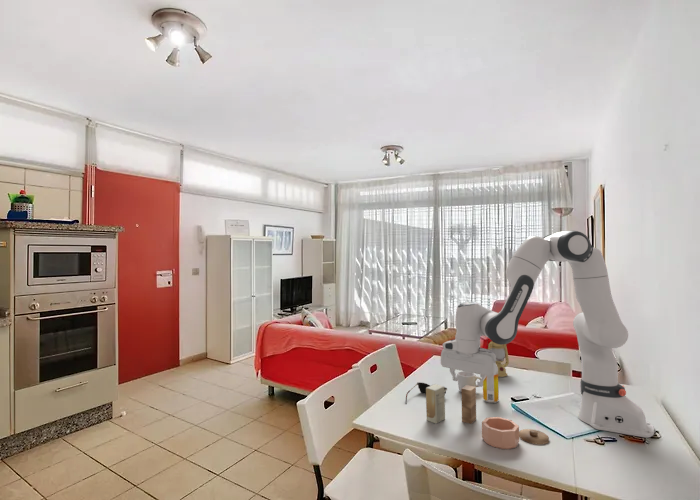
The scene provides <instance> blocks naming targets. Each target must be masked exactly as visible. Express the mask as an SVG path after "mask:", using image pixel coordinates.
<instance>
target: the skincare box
mask: <svg viewBox="0 0 700 500" xmlns="http://www.w3.org/2000/svg"><path fill="white" fill-rule="evenodd" d="M444 387H445V386H444V385H441V384H437V383H434V384H431V385H430V386H429V387H427V388H426V394H425V396H426V397H425V404H426V407H425V408H426V421H428V422H430V423H433V424H436V425H437V424H438V423H439V422H442V421H444V420H445V419H446V404H445V403H446V401H445V399H446V398H445V396H446V394H445V393H444Z"/></svg>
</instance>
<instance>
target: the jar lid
mask: <svg viewBox="0 0 700 500" xmlns="http://www.w3.org/2000/svg"><path fill="white" fill-rule="evenodd" d="M519 439H520V440H522V441H524V442H526V443H529V444H533V445H546V444H548V443H549V442H550V437H549V435H548V434H546V433H544V432H543V431H540V430H537V429H532V428H525V429H523V428H522V429H521V430H520V429H519Z"/></svg>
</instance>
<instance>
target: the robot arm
mask: <svg viewBox="0 0 700 500" xmlns="http://www.w3.org/2000/svg"><path fill="white" fill-rule="evenodd" d="M548 261H550V262H567V263H568V264H569V265H570V268H571V271H572V277H573V278H572V279H573V286H574V292H575V298H576V301H577V302H578V303H579V306H580V309H581V311H582V312H580V313H577V314H576V315H575V316H574V318H573V320H572V327H573V329H574V331H575V334H576V338H577V344H578V348H579V353H580V360H581V379H580V386H579V387H580V395H581V397H580V398H581V400H580V405H579V410H578V414H577V418H578V419H579V420H580V421H582V422H584V423H585V424H588V425H590V426H591V427H592V428H593V429H595V430H599V431H605V432H611V433H615V434H617V433H618V434H623V435H629V436H635V437H640V438H645V439H646V438H651V437H653V436H654V435H655V428H654V426H653V425H654V424H652V423H651V422H649V421H647V419H646V415H645V412H644V411H643V409H642V408H641V407H640V405H638V404H636V402H634V401H633V400H631V399H630V398H629V397H627V396H626V395H627V390H626V387H625V385H622V384H620V383H619V377H618V376H619V374H618V373H619V372H618V367H619V366H618V361H617V359H616V356H615V354H614V351H613V349H617V348H621V347H623V346H624V345H625V344H626V343H627V342H628V339H629V330H628V329H627V327H626V325H624V323H623V321H622V319H621V317H620V315H619V312H618V310H617V307H616V305H615V302H614V299H613V296H612V291H611V285H610V278H609V274H608V267H607V265H606V261H605V259H604V255H603V254H602V251H601V250H600V249H599V248H596V247H594V246H593V244H592V243H591V240H590V238H589V237H588V236H587V235H586V234H585V233H583V232H581V231H578V230H564V231H558V232H555V233H551V234H547V235H545V236H544V237H540V236H536V235H535V236H534V235H531V236H529V237H526V239H525V240H523V242H522V243H521V244H520V245H519V246H518V248H517V249H516V250H515V252H514V254H513V255H512V257H511V258H510V260H509V262H508V264H507V267H506V270H505V275H506V279H507V281H508V282H509V284H510V291H509V293H508V296H507V298H506V300H505V302H504V305H502V308H501V310H500V311H499V312H497V311H493V310H492V309H491V310H490V309H488V308H486V307H485V306H482V305H481V304H479V302H476V301H465V302H462V303H459V304H458V305H457V307H456V311H455V329H456V333H455V336H454V339H451V340H447V341H445V342H443V343H442V348H443V349H442V350H441V352H440V365H441V367H443V368H447V369H449V373H450V374H451V376H452V381H454V382H458V376H457V373H456V372H455V371H456V370H457V371H460V372H461V371H466V372H471V373H474V374H475V375H480V376H479V377H480V378H481V380H479V379H478V380H476V381H477V382H476V383H477V384H476V385H477V386H480V387H479V388H483V381H484V379H485V378H486V376H490V377H492V376H494V375H495V374H496V362H495V361H496V354H495V352H494V351H492V350H491V349H488V348H485V347H484V348H483V347H481V337H482V336H484V337H487V339H490V341H493V342H494V343H496V344H500V345H503V344H506V345H508V344H510V343H512V341H514V339H515V338H516V336H517V333H518V329H519V328H518V327H519V322H520V319H521V317H522V315H523V312H524V310H525V308H526V306H527V304H528V302H529V300H530V297H531V295H532V292H533V289H534V286H535V284H536V282H537V279H538V278H539V276H540V274H541V273H542V271H543V269H544V266H545V265H546V264H547V262H548ZM492 352H493V353H492Z"/></svg>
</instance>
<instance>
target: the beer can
mask: <svg viewBox="0 0 700 500" xmlns="http://www.w3.org/2000/svg"><path fill="white" fill-rule="evenodd" d="M499 397H500V396H499V377H498V367H497V365H496V374H495V375H494V376H492V377H490V376H486V378H485V379H484V381H483V386H482V398H483V401H485V403H489V404H497V403H498V401H499Z"/></svg>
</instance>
